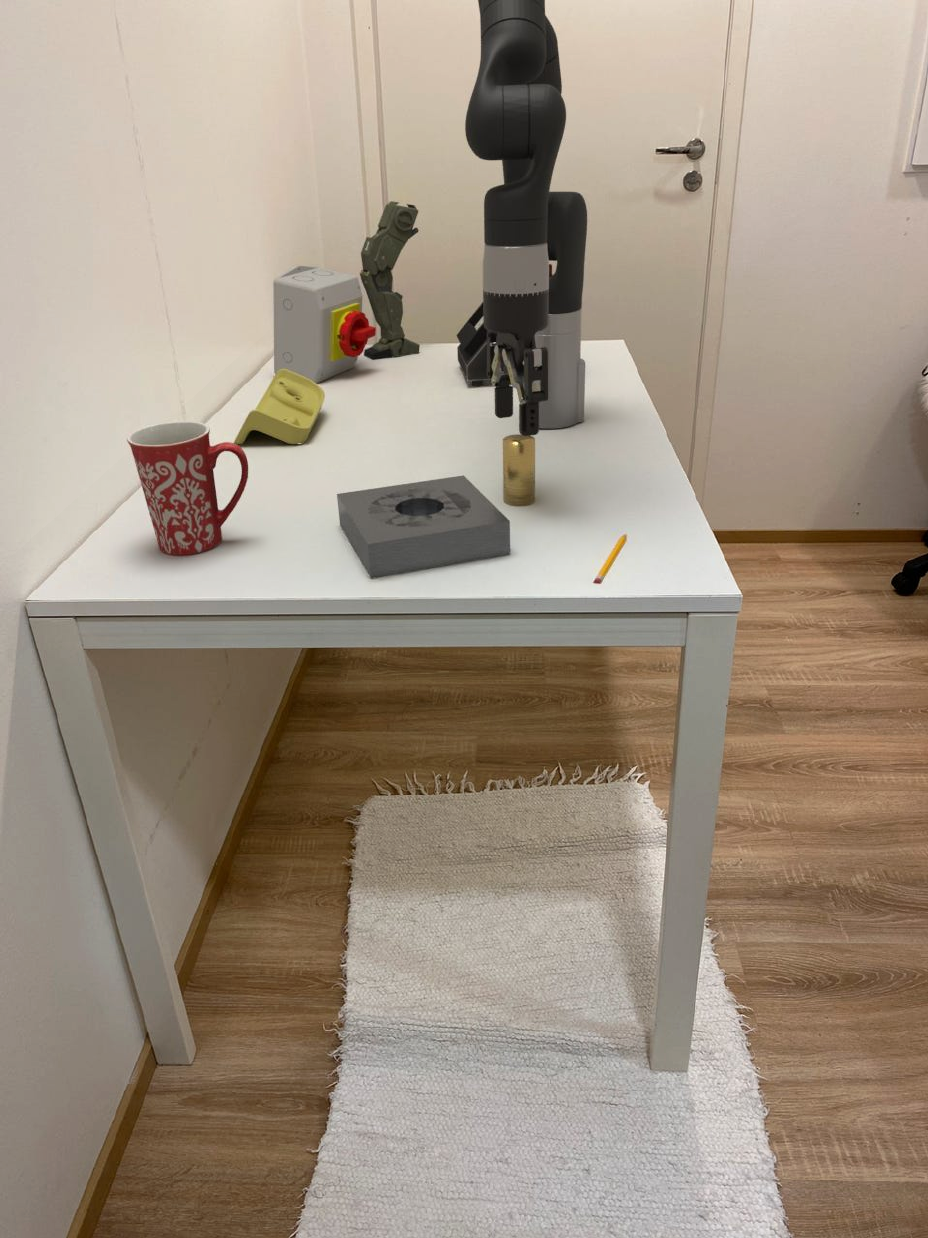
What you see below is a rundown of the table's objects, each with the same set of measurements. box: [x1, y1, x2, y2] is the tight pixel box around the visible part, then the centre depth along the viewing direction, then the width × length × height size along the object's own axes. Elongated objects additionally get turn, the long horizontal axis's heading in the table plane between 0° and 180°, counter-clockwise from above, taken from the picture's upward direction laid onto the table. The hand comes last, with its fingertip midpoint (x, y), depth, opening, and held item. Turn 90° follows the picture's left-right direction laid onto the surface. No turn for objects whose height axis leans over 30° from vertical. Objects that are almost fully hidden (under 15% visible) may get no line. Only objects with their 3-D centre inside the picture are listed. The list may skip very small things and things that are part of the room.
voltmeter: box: [456, 263, 554, 387], centre depth 171 cm, size 16×16×20 cm
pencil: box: [592, 533, 627, 585], centre depth 103 cm, size 1×13×1 cm, turn 158°
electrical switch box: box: [272, 264, 377, 385], centre depth 176 cm, size 15×15×20 cm
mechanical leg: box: [359, 201, 421, 361], centre depth 188 cm, size 14×7×30 cm, turn 117°
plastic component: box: [233, 369, 326, 445], centre depth 150 cm, size 20×7×10 cm
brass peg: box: [502, 433, 536, 507], centre depth 117 cm, size 4×4×8 cm
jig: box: [336, 475, 511, 579], centre depth 108 cm, size 16×16×4 cm
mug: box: [126, 420, 249, 556], centre depth 107 cm, size 13×9×14 cm
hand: (516, 425), depth 114 cm, fingers open, 8 cm apart
